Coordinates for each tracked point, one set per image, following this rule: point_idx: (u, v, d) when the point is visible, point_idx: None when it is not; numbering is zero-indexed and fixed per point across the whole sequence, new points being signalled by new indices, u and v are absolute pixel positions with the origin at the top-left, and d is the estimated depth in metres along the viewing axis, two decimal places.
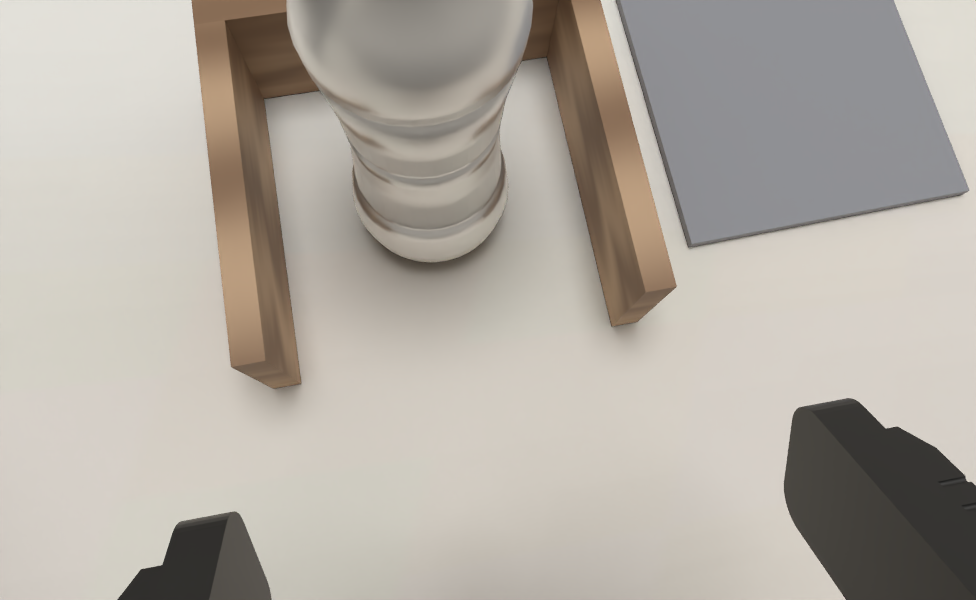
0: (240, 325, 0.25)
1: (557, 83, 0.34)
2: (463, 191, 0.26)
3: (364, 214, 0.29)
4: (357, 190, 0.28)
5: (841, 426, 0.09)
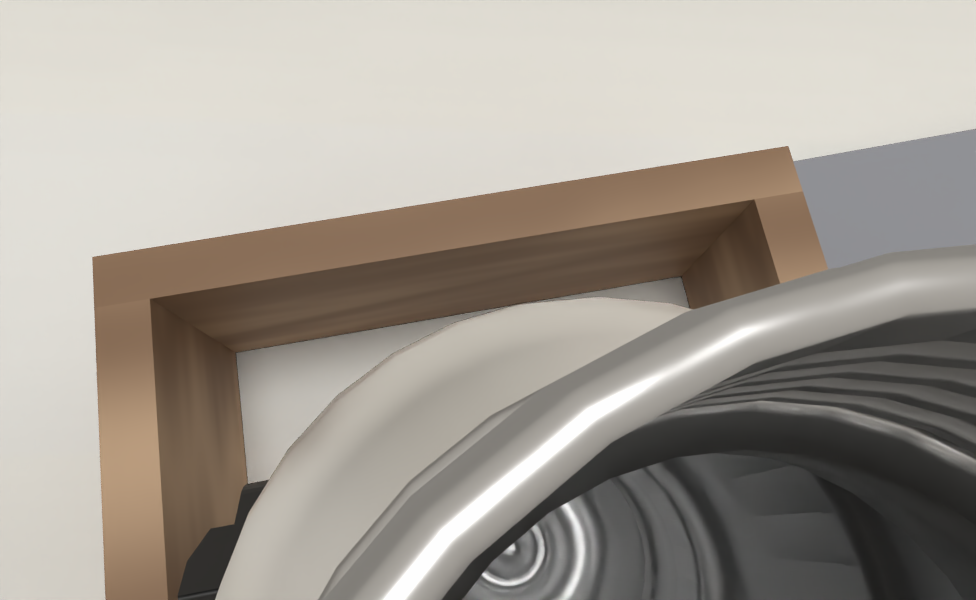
0: None
1: None
2: None
3: None
4: None
5: None
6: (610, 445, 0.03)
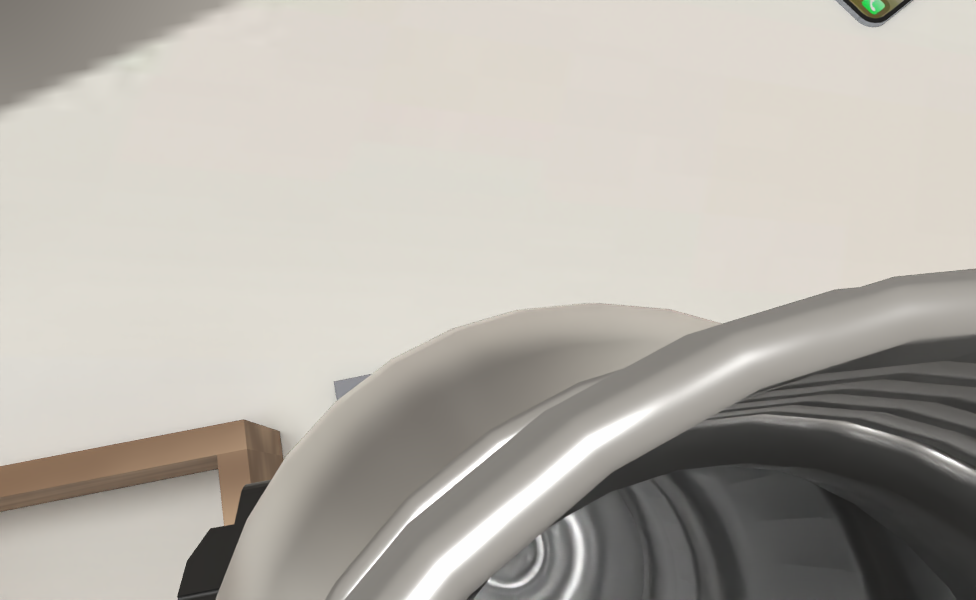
0: None
1: None
2: None
3: None
4: None
5: None
6: None
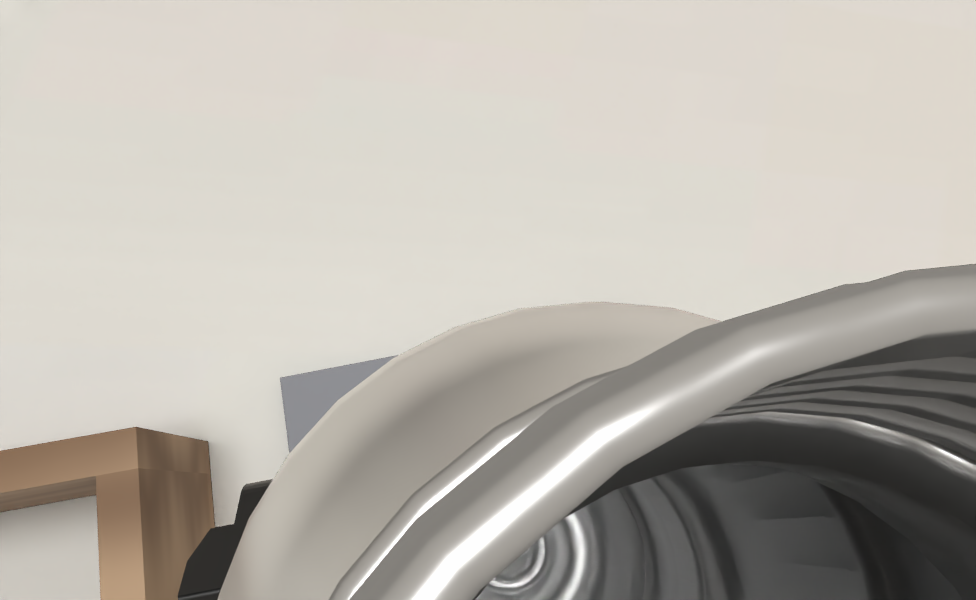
0: None
1: None
2: None
3: None
4: None
5: None
6: None
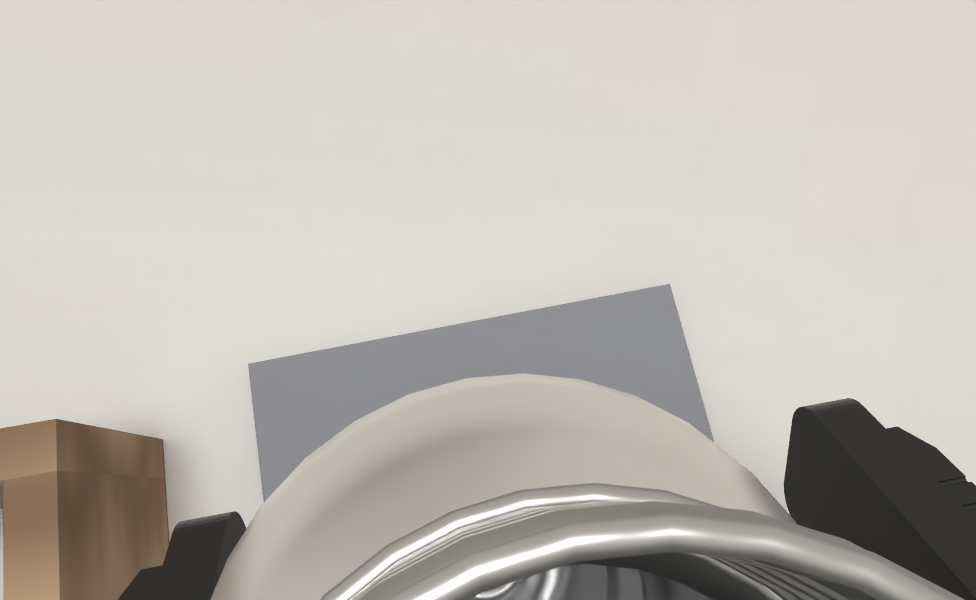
0: None
1: None
2: None
3: None
4: None
5: (841, 426, 0.09)
6: None
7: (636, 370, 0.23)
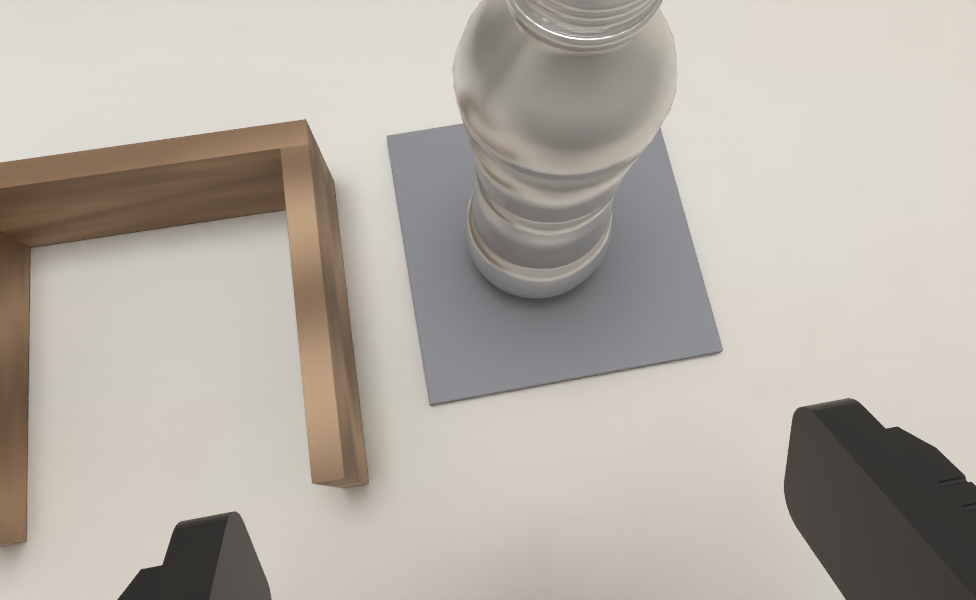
0: None
1: None
2: (581, 235, 0.27)
3: (478, 252, 0.31)
4: (473, 230, 0.30)
5: (841, 426, 0.09)
6: None
7: None
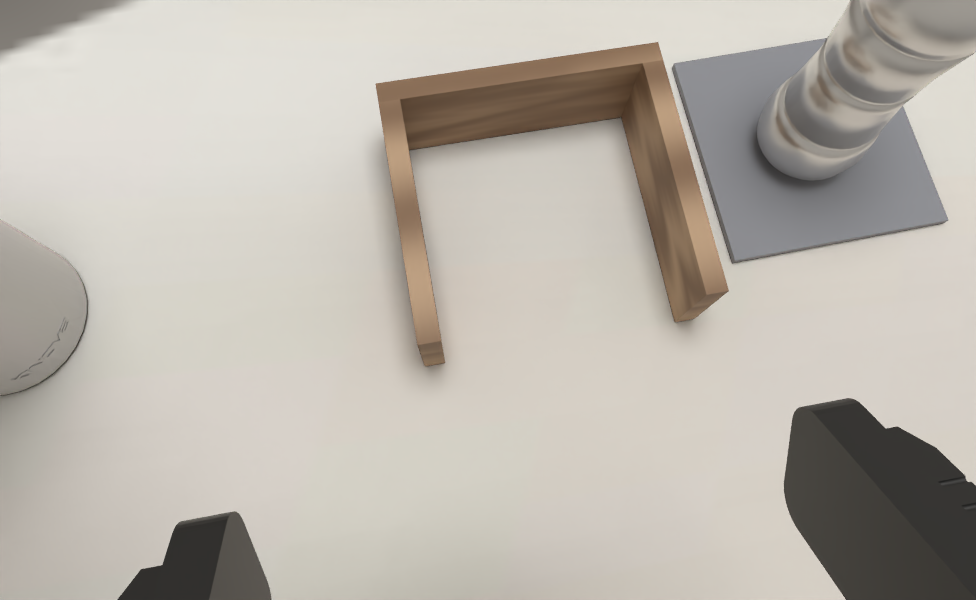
0: (422, 316, 0.36)
1: (631, 138, 0.45)
2: (887, 118, 0.38)
3: (784, 141, 0.41)
4: (785, 123, 0.41)
5: (841, 426, 0.09)
6: None
7: None
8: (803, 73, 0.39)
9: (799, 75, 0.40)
